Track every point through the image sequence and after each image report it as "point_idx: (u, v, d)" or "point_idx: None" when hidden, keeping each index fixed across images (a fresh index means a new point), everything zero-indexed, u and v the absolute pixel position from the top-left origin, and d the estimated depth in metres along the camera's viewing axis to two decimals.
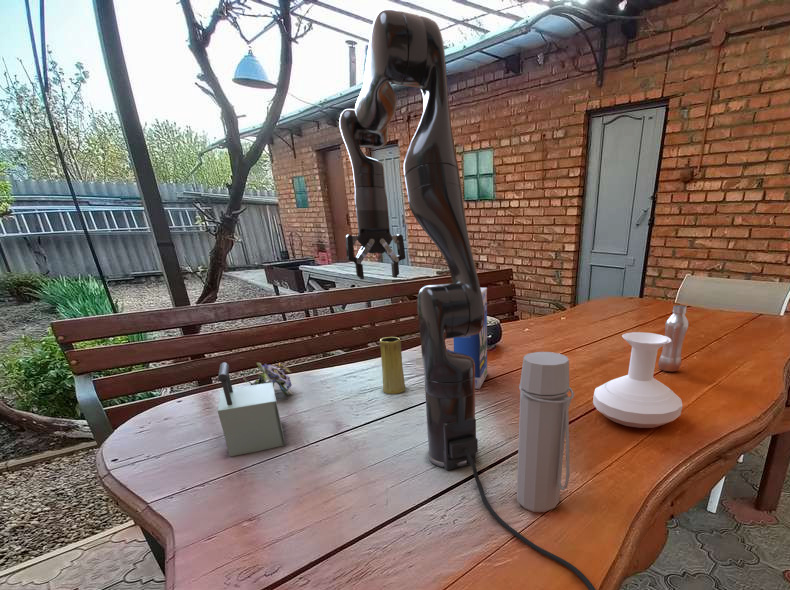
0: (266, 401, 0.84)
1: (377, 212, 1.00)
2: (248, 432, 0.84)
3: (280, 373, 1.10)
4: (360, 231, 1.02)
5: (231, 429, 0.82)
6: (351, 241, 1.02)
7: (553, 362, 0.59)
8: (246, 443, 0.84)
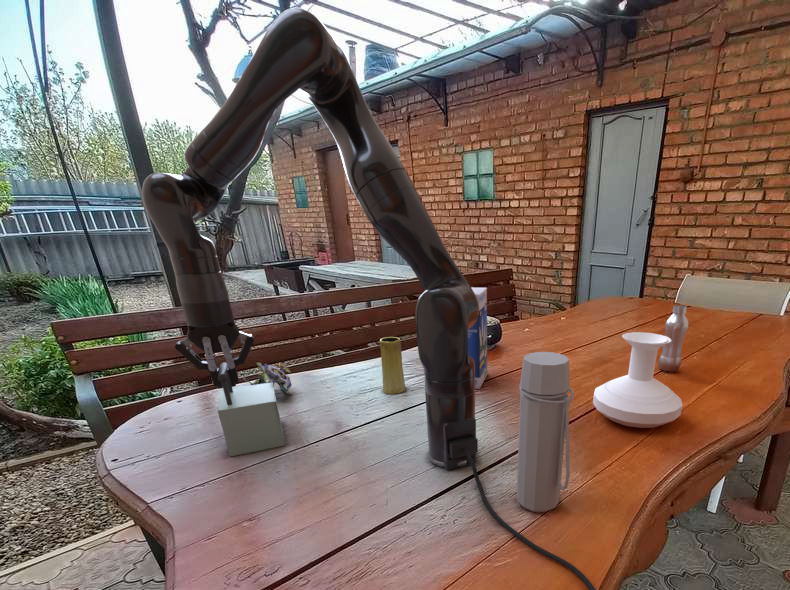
0: (266, 401, 0.84)
1: (206, 305, 0.75)
2: (248, 432, 0.84)
3: (280, 373, 1.10)
4: (189, 328, 0.77)
5: (231, 429, 0.82)
6: (184, 349, 0.78)
7: (553, 363, 0.59)
8: (246, 443, 0.84)
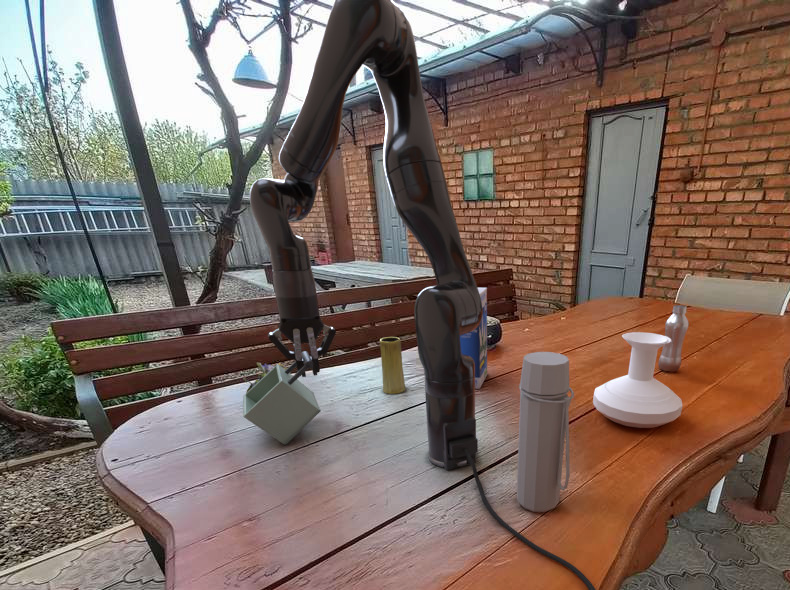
0: (314, 405, 0.88)
1: (300, 299, 0.82)
2: (277, 413, 0.85)
3: None
4: (281, 320, 0.84)
5: (271, 400, 0.83)
6: (276, 340, 0.84)
7: (553, 363, 0.59)
8: (265, 418, 0.84)
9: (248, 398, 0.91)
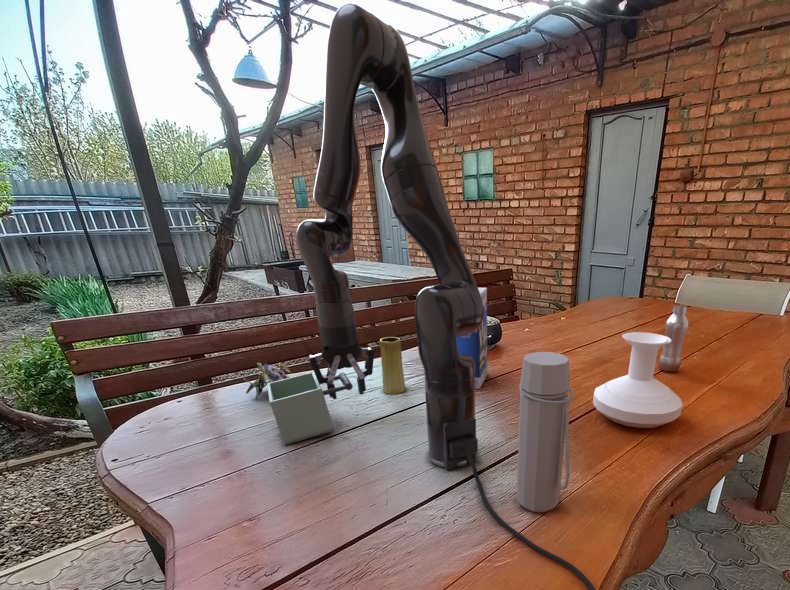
0: (331, 422, 0.91)
1: (342, 329, 0.87)
2: (299, 414, 0.87)
3: (280, 373, 1.10)
4: (323, 348, 0.90)
5: (301, 400, 0.86)
6: (315, 363, 0.90)
7: (553, 363, 0.59)
8: (286, 413, 0.86)
9: (271, 387, 0.92)
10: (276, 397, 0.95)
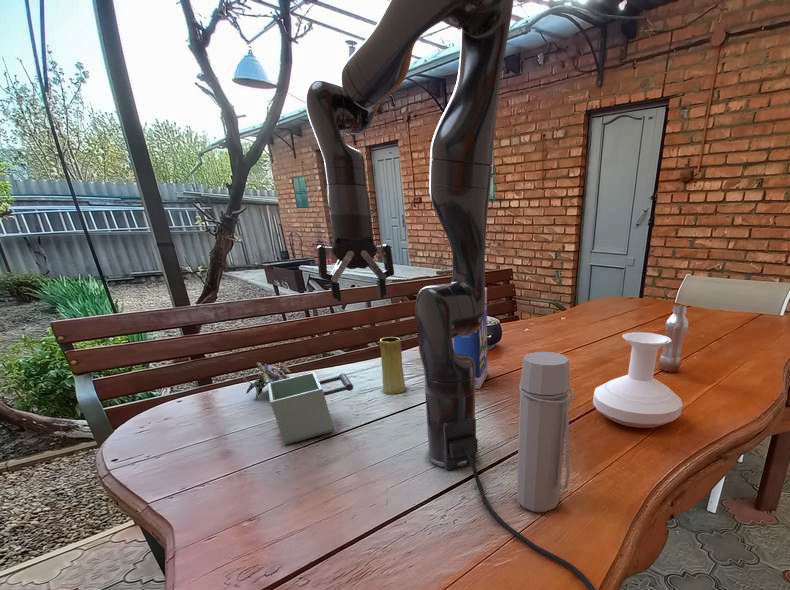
0: None
1: (356, 217, 0.78)
2: (299, 414, 0.87)
3: (280, 373, 1.10)
4: (335, 241, 0.80)
5: (302, 400, 0.86)
6: (324, 254, 0.79)
7: (553, 363, 0.59)
8: (286, 413, 0.86)
9: (271, 387, 0.92)
10: (276, 397, 0.95)
